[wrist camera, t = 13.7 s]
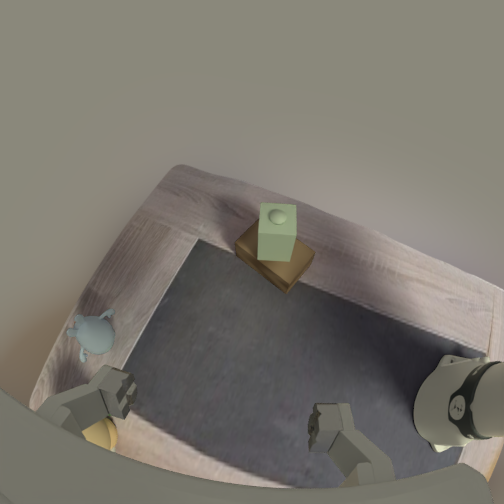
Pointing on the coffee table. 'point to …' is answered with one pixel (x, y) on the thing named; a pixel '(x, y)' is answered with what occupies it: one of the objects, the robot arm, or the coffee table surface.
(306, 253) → the base brick
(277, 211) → the green brick
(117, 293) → the coffee table surface
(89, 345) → the toy figure
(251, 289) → the coffee table surface
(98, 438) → the kitten
